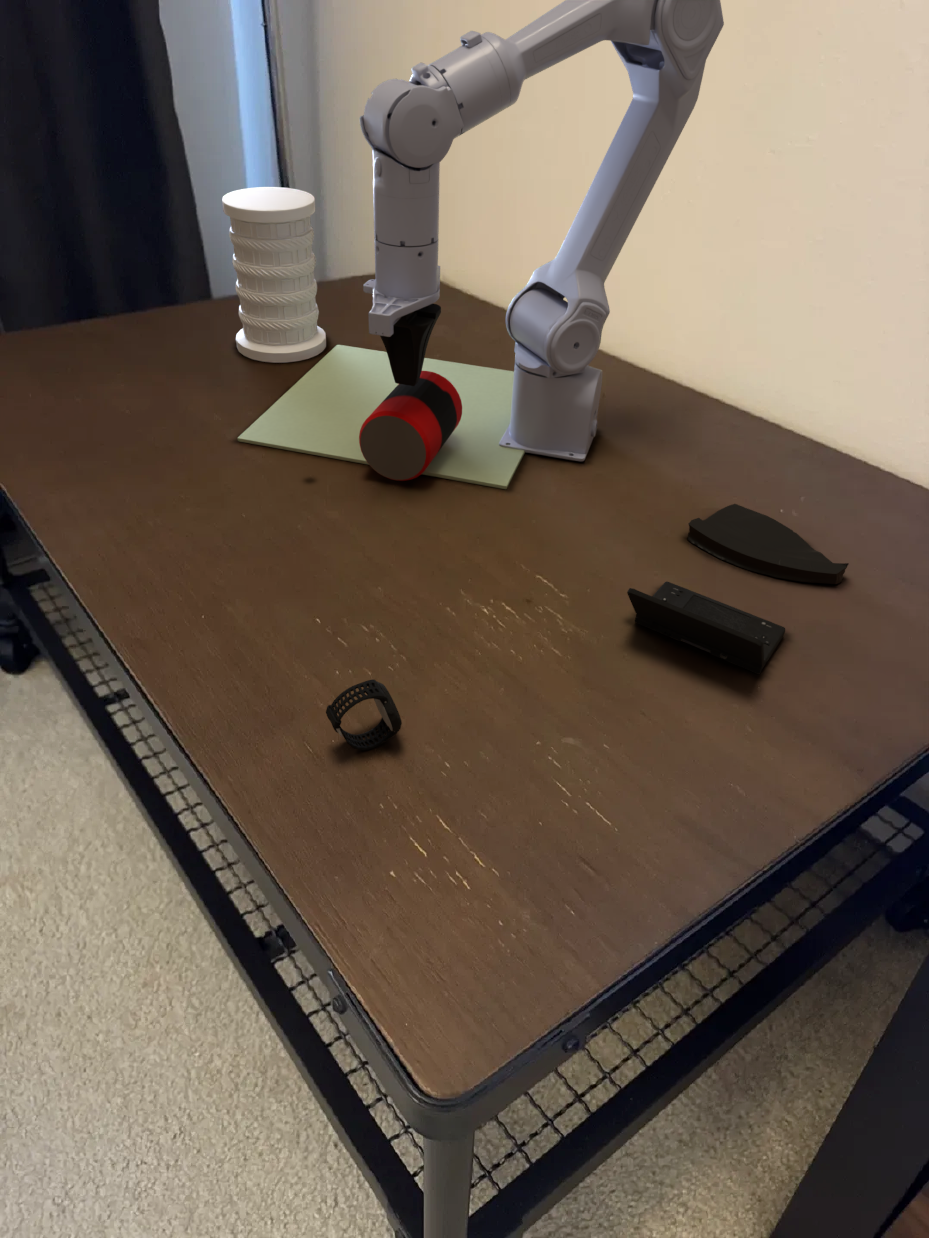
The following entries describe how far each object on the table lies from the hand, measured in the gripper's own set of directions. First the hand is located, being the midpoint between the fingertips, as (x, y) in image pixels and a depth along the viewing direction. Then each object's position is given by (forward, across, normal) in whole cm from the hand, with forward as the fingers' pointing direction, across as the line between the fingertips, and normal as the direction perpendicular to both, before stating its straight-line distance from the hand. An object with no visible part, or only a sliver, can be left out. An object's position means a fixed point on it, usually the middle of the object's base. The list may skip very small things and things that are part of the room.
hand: (406, 382), depth 89 cm
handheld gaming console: (+10, +19, +32) cm, 38 cm away
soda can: (+5, +4, 0) cm, 7 cm away
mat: (+9, -13, -4) cm, 17 cm away
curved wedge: (+10, +4, +36) cm, 37 cm away
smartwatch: (+10, +38, +10) cm, 40 cm away
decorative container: (+10, -25, -26) cm, 37 cm away
